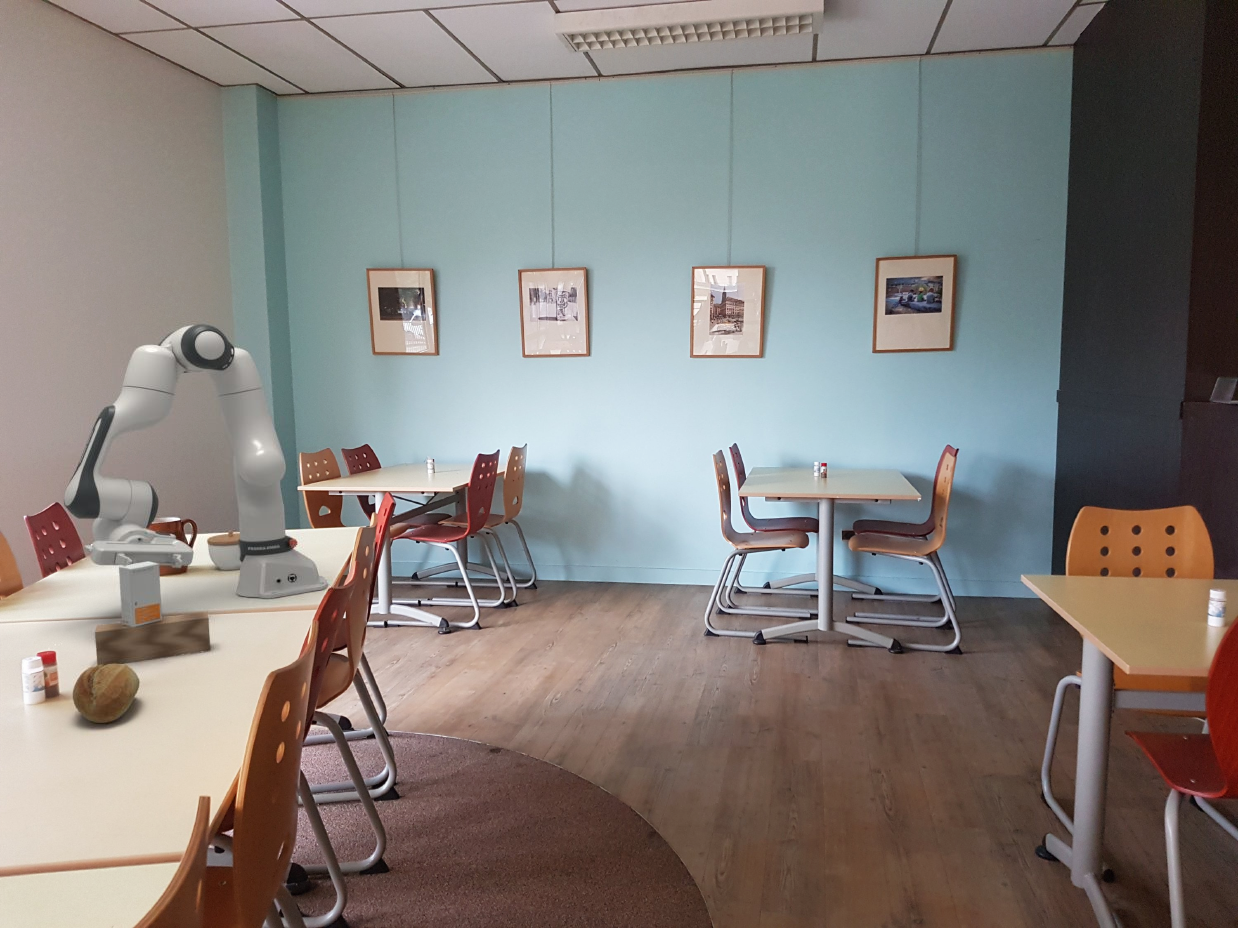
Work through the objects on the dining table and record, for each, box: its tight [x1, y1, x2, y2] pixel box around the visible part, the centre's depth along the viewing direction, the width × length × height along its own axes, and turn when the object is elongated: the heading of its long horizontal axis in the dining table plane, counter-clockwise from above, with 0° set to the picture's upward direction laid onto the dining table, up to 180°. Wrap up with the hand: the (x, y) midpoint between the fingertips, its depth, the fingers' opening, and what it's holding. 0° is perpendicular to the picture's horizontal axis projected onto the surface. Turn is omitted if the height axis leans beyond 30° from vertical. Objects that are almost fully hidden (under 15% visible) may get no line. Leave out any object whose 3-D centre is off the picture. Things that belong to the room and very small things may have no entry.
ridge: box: [94, 611, 211, 666], centre depth 171 cm, size 20×5×7 cm, turn 118°
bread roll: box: [72, 663, 140, 724], centre depth 143 cm, size 10×15×8 cm, turn 27°
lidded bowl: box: [206, 530, 241, 571], centre depth 249 cm, size 13×13×11 cm
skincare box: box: [118, 561, 163, 627], centre depth 170 cm, size 6×4×12 cm
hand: (155, 564), depth 183 cm, fingers open, 8 cm apart
